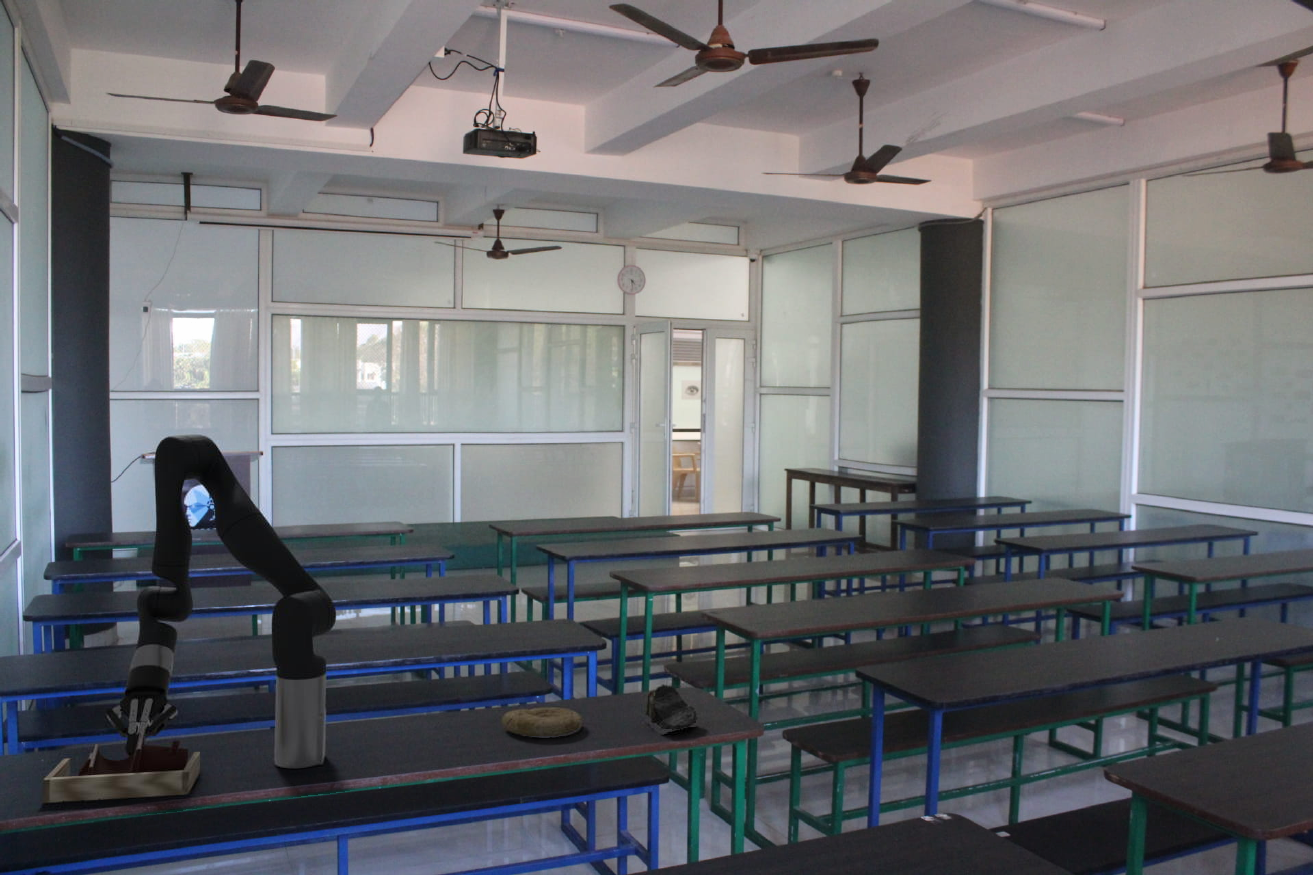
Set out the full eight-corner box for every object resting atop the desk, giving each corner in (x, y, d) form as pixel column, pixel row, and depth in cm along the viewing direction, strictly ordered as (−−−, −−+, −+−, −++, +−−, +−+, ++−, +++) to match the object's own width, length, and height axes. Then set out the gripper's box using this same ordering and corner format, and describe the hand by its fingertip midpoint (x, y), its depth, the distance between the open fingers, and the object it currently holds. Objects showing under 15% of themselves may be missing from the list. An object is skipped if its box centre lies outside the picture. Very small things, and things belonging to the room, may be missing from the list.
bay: (199, 772, 189) (200, 751, 189) (187, 794, 179) (188, 771, 179) (63, 780, 184) (63, 758, 184) (43, 802, 173) (43, 779, 173)
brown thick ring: (546, 748, 210) (546, 727, 210) (495, 734, 219) (495, 713, 219) (597, 729, 224) (598, 709, 224) (547, 716, 233) (548, 696, 232)
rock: (640, 719, 232) (638, 680, 230) (684, 709, 236) (683, 671, 233) (661, 751, 219) (659, 710, 216) (707, 741, 222) (707, 700, 220)
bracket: (80, 766, 184) (91, 721, 181) (180, 774, 191) (193, 731, 188) (74, 789, 178) (85, 743, 176) (177, 796, 185) (190, 753, 183)
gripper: (109, 664, 194) (89, 747, 182) (184, 662, 197) (169, 744, 185) (116, 684, 199) (97, 766, 187) (189, 682, 202) (174, 762, 191)
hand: (133, 755), depth 186 cm, fingers closed
